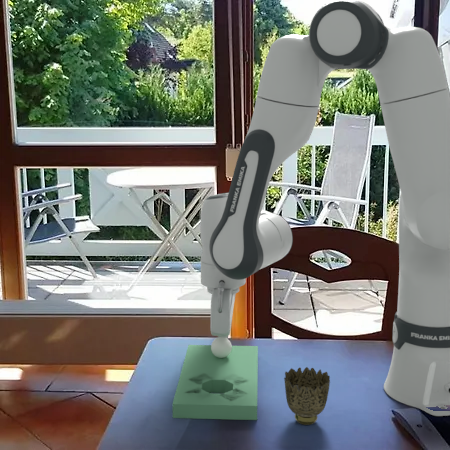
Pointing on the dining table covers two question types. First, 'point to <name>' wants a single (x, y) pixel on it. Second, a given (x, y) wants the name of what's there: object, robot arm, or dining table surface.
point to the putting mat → (218, 384)
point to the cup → (306, 393)
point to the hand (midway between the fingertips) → (223, 341)
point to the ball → (221, 347)
